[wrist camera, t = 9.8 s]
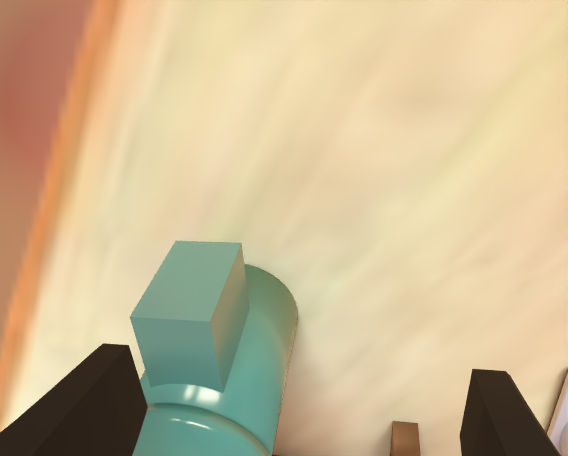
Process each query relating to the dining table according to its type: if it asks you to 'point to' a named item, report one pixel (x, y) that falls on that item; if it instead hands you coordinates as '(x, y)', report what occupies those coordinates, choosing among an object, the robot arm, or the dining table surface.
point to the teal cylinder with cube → (212, 353)
